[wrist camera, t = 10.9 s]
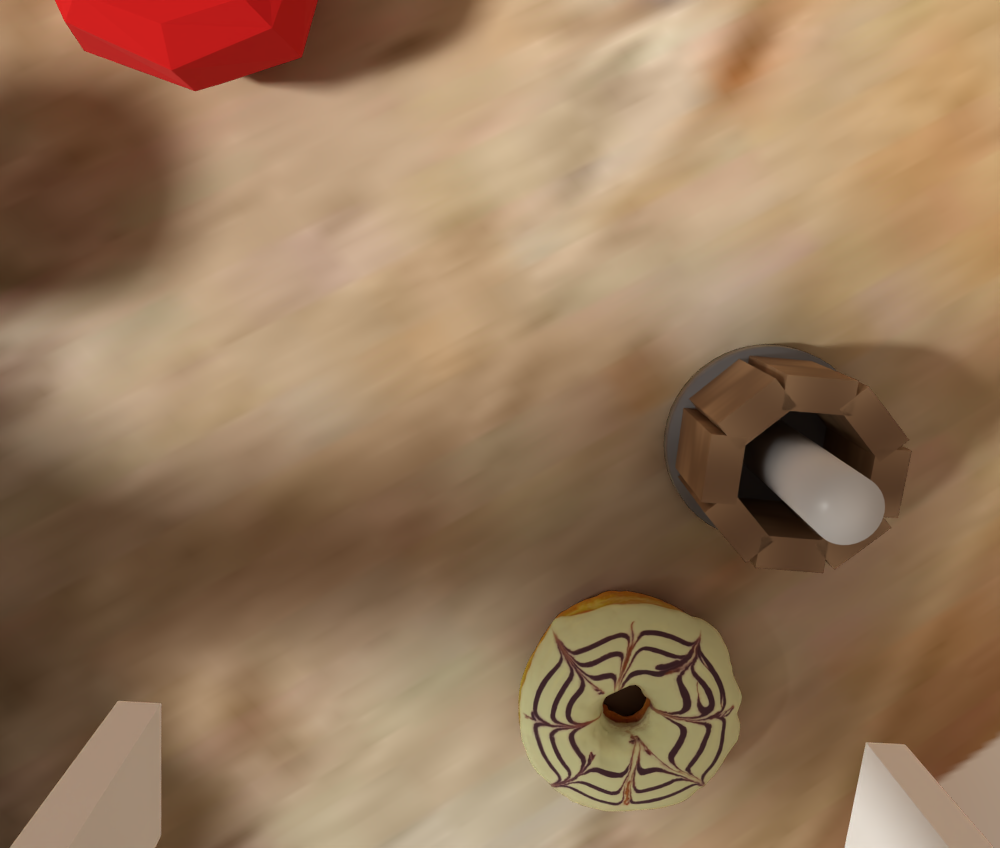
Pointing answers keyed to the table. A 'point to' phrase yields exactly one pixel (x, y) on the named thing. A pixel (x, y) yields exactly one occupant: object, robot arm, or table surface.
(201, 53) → the apple
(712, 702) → the decorated donut
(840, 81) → the table surface
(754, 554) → the ring
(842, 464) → the post
